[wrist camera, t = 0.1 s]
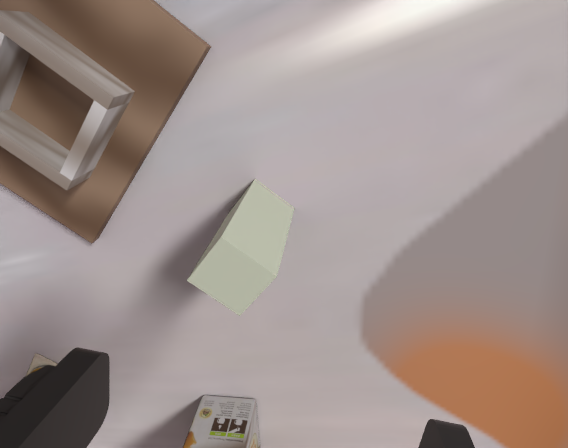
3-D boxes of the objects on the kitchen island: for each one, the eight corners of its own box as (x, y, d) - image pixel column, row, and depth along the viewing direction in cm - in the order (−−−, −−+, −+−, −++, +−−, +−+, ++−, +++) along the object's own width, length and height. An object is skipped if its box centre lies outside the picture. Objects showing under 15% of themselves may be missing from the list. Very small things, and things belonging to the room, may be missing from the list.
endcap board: (29, -99, 25) (-23, -122, 21) (211, 46, 27) (191, 48, 24) (-46, 143, 33) (-92, 156, 30) (98, 238, 36) (71, 260, 32)
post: (255, 178, 31) (221, 236, 22) (294, 208, 32) (277, 276, 23) (228, 213, 33) (186, 280, 24) (266, 240, 34) (239, 315, 25)
